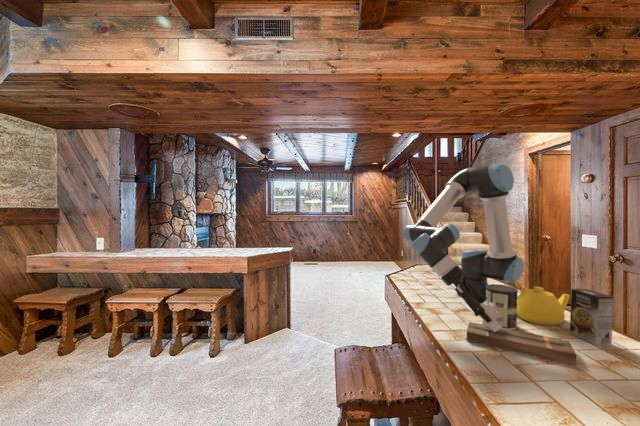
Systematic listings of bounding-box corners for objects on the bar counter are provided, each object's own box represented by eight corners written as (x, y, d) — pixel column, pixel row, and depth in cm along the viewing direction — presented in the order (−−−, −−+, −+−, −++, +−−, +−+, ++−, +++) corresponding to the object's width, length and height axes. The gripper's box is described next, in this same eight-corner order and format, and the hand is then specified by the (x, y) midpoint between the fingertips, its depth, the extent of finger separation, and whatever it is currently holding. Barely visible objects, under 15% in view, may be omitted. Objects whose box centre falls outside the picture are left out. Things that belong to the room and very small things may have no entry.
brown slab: (468, 329, 106) (468, 321, 106) (568, 350, 92) (568, 340, 92) (466, 340, 97) (466, 331, 97) (576, 365, 83) (576, 354, 83)
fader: (482, 325, 101) (483, 301, 101) (492, 327, 99) (493, 302, 99) (482, 330, 98) (483, 304, 97) (492, 332, 96) (493, 306, 96)
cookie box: (568, 333, 104) (570, 288, 103) (584, 332, 104) (586, 288, 104) (595, 346, 95) (597, 296, 94) (612, 344, 95) (614, 296, 95)
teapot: (530, 326, 110) (531, 293, 109) (501, 308, 128) (502, 280, 128) (585, 328, 109) (586, 294, 108) (548, 310, 127) (549, 281, 127)
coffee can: (509, 320, 115) (510, 285, 115) (522, 331, 105) (523, 292, 105) (481, 318, 117) (482, 283, 117) (490, 328, 107) (491, 290, 107)
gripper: (444, 271, 116) (489, 318, 108) (434, 284, 96) (488, 343, 89) (459, 259, 113) (506, 306, 105) (452, 270, 93) (509, 329, 86)
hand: (498, 323), depth 97 cm, fingers open, 10 cm apart
